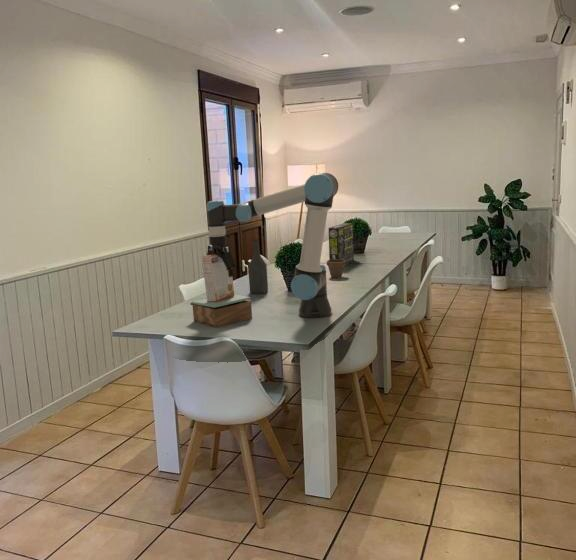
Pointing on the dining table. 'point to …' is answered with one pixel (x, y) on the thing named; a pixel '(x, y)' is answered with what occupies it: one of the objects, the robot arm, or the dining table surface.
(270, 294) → the dining table surface
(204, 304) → the lid
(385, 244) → the dining table surface
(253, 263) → the bottle
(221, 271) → the cracker box
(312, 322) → the dining table surface
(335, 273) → the flower pot
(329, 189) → the robot arm
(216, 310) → the walnut chest
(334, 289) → the dining table surface
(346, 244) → the box
